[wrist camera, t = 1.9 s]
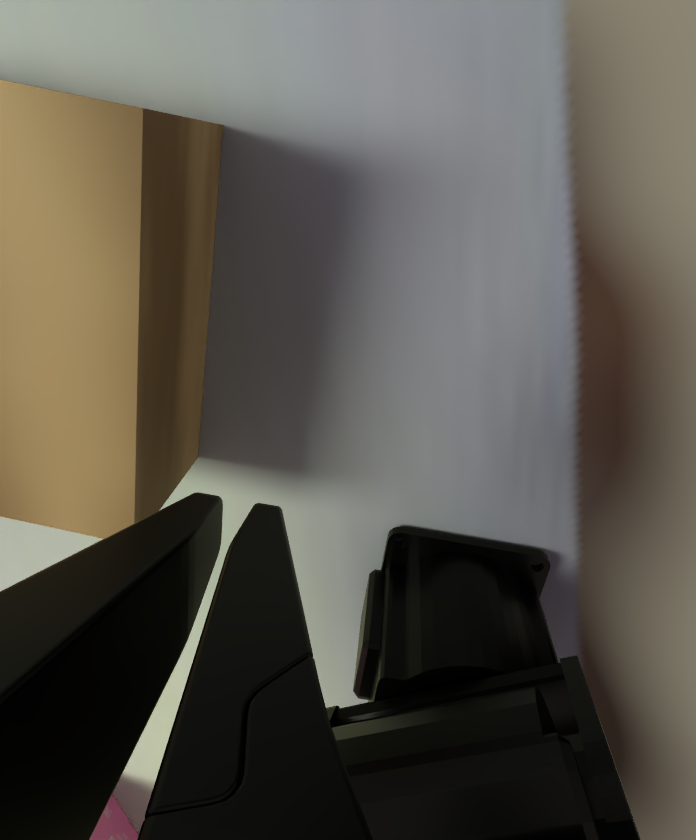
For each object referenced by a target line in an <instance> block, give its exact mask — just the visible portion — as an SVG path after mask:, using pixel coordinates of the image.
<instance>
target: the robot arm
mask: <svg viewBox="0 0 696 840" xmlns="http://www.w3.org/2000/svg"><path fill="white" fill-rule="evenodd" d="M222 512H223V503H222V499H221V498H220V497H219V496H215V495H210V494H204V493H194V494H191V495H189V496H187V497H185V498H184V499H182V500H180V501H178V502H176V503H174V504H172V505H170V506H168V507H166V508H164V509H162V510H160V511H158V512H156V513H154V514H152V515H150V516H148V517H146V518H144V519H142V520H140V521H138V522H136V523H134V524H132V525H130V526H128V527H127V528H125V529H123V530H121V531H119V532H117V533H115V534H113V535H111V536H109V537H107V538H105V539H103V540H101V541H99V542H97V543H95V544H93V545H91V546H89V547H87V548H85V549H83V550H81V551H79V552H77V553H75V554H73V555H72V556H70V557H68V558H66V559H64V560H62V561H60V562H58V563H56V564H54V565H52V566H50V567H48V568H46V569H44V570H42V571H40V572H38V573H36V574H34V575H32V576H30V577H28V578H26V579H24V580H22V581H20V582H18V583H16V584H15V585H13V586H11V587H9V588H7V589H5V590H3V591H1V592H0V840H89V839H90V837H91V835H92V833H93V831H94V829H95V827H96V825H97V823H98V821H99V819H100V817H101V815H102V813H103V811H104V809H105V807H106V805H107V803H108V801H109V799H110V797H111V795H112V793H113V791H114V789H115V787H116V785H117V783H118V781H119V779H120V777H121V775H122V773H123V771H124V769H125V767H126V765H127V763H128V761H129V759H130V757H131V755H132V753H133V751H134V749H135V746H136V744H137V742H138V740H139V738H140V736H141V734H142V732H143V730H144V728H145V726H146V724H147V722H148V720H149V718H150V716H151V714H152V712H153V710H154V708H155V706H156V704H157V702H158V700H159V698H160V696H161V694H162V692H163V690H164V688H165V686H166V684H167V682H168V680H169V678H170V676H171V674H172V672H173V670H174V668H175V666H176V664H177V662H178V660H179V658H180V655H181V653H182V651H183V649H184V647H185V645H186V642H187V640H188V638H189V635H190V632H191V630H192V627H193V624H194V621H195V619H196V616H197V613H198V610H199V607H200V605H201V602H202V599H203V596H204V593H205V590H206V588H207V585H208V582H209V579H210V576H211V574H212V571H213V568H214V565H215V562H216V560H217V557H218V554H219V550H220V545H221V534H222ZM397 538H403V539H404V540H405V541H403V542H397V541H396V540H395V539H397ZM534 562H541V563H540V564H538V565H531V564H532V563H534ZM549 570H550V563H549V560H548V557H547V555H546V554H545V553H544V552H542V551H539V550H534V549H528V548H522V547H516V546H510V545H504V544H499V543H493V542H487V541H481V540H475V539H469V538H464V537H458V536H452V535H446V534H440V533H434V532H429V531H423V530H417V529H411V528H405V527H396V528H393V529H392V530H390V531H389V534H388V537H387V542H386V547H385V552H384V557H383V562H382V567H381V570H376V569H375V570H374V571H372V572H371V573H370V574H369V579H368V584H367V590H366V595H365V600H364V606H363V611H362V616H361V625H360V634H359V643H358V652H357V661H356V670H355V680H354V689H353V691H354V693H355V694H356V696H357V697H358V698H360V699H366V700H368V703H363V704H358V705H354V706H349V707H344V708H339V706H333V707H329V708H326V707H325V703H324V699H323V695H322V691H321V687H320V684H319V679H318V675H317V670H316V666H315V661H314V659H313V653H312V648H311V644H310V639H309V634H308V630H307V625H306V620H305V616H304V611H303V606H302V602H301V597H300V592H299V588H298V583H297V578H296V574H295V569H294V564H293V560H292V555H291V550H290V546H289V541H288V536H287V532H286V527H285V522H284V518H283V513H282V509H281V508H280V507H279V506H274V505H268V504H262V503H257V504H255V505H254V506H253V508H252V509H251V511H250V512H249V514H248V516H247V517H246V519H245V521H244V522H243V524H242V526H241V527H240V529H239V530H238V532H237V534H236V535H235V537H234V539H233V541H232V542H231V544H230V546H229V549H228V551H227V554H226V557H225V560H224V563H223V567H222V570H221V573H220V576H219V579H218V583H217V586H216V589H215V592H214V595H213V599H212V602H211V605H210V608H209V612H208V615H207V618H206V621H205V624H204V628H203V631H202V634H201V637H200V640H199V644H198V647H197V650H196V653H195V656H194V660H193V663H192V666H191V669H190V672H189V676H188V679H187V682H186V685H185V689H184V692H183V695H182V698H181V701H180V705H179V708H178V711H177V714H176V717H175V721H174V724H173V727H172V730H171V733H170V737H169V740H168V743H167V746H166V749H165V753H164V756H163V759H162V762H161V766H160V769H159V772H158V775H157V778H156V782H155V785H154V788H153V791H152V794H151V798H150V801H149V804H148V807H147V810H146V814H145V821H144V822H143V824H142V827H141V830H140V833H139V836H138V839H137V840H640V837H639V833H638V830H637V828H636V825H635V822H634V819H633V816H632V813H631V810H630V807H629V804H628V801H627V798H626V796H625V793H624V790H623V787H622V784H621V781H620V778H619V775H618V772H617V769H616V766H615V763H614V760H613V758H612V754H611V751H610V749H609V746H608V743H607V740H606V737H605V734H604V732H603V729H602V726H601V723H600V720H599V717H598V714H597V712H596V708H595V706H594V703H593V700H592V697H591V694H590V691H589V688H588V686H587V683H586V680H585V677H584V674H583V671H582V668H581V666H580V663H579V660H578V657H577V656H572V657H567V658H562V659H560V663H558V660H557V657H556V653H555V650H554V646H553V643H552V640H551V636H550V633H549V630H548V626H547V623H546V619H545V616H544V613H543V609H542V606H541V603H540V599H539V597H540V594H541V592H542V589H543V586H544V583H545V581H546V578H547V575H548V572H549Z"/></svg>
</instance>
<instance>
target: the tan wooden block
mask: <svg viewBox="0 0 696 840" xmlns="http://www.w3.org/2000/svg"><path fill="white" fill-rule="evenodd" d="M222 134H223V125H220V124H215V123H210V122H205V121H201V120H196V119H191V118H186V117H182V116H177V115H172V114H167V113H162V112H158V111H153V110H148V109H143V108H138V107H133V106H128V105H123V104H118V103H113V102H108V101H104V100H99V99H94V98H89V97H84V96H79V95H74V94H69V93H64V92H59V91H54V90H49V89H44V88H39V87H34V86H29V85H24V84H19V83H14V82H9V81H4V80H0V516H2V517H6V518H11V519H16V520H20V521H25V522H29V523H34V524H39V525H43V526H48V527H53V528H57V529H62V530H66V531H71V532H76V533H80V534H85V535H90V536H94V537H99V538H104V539H105V538H107V537H109V536H111V535H113V534H115V533H117V532H119V531H121V530H123V529H125V528H127V527H128V526H130V525H132V524H134V523H136V522H138V521H140V520H142V519H144V518H146V517H148V516H150V515H152V514H154V513H156V512H158V511H159V510H160V509H161V507H162V506H163V504H164V503H165V502H166V500H167V499H168V498H169V496H170V495H171V493H172V492H173V491H174V489H175V488H176V487H177V485H178V484H179V483H180V481H181V480H182V478H183V477H184V476H185V474H186V473H187V472H188V470H189V469H190V468H191V466H192V465H193V463H194V462H195V461H196V459H197V458H198V450H199V436H200V423H201V410H202V397H203V384H204V371H205V358H206V344H207V331H208V318H209V305H210V292H211V279H212V266H213V253H214V239H215V226H216V213H217V200H218V187H219V174H220V161H221V147H222Z"/></svg>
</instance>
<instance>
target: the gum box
mask: <svg viewBox="0 0 696 840" xmlns="http://www.w3.org/2000/svg"><path fill="white" fill-rule="evenodd" d="M138 836H139V835H138V833H137V832H136V830H135V829H134V828H133V826H132V825H131V823H130V822H129V820H128V817H127V816H126V814H125V813H124V811H123V810H122V808H121V807H120V805H119V804H118V802H117V801H116V799H115V798H114V796H113V795H111V797H110V799H109V801H108V803H107V805H106V807H105V809H104V811H103V813H102V815H101V817H100V819H99V821H98V823H97V825H96V827H95V829H94V831H93V833H92V835H91V837H90V839H89V840H137V839H138Z"/></svg>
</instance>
